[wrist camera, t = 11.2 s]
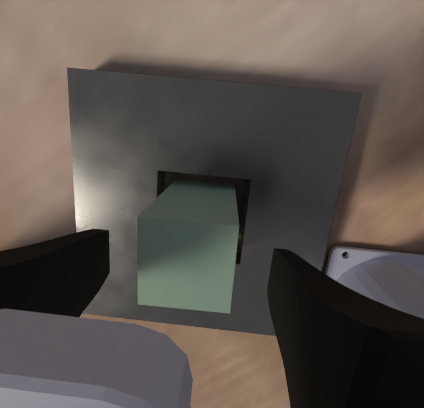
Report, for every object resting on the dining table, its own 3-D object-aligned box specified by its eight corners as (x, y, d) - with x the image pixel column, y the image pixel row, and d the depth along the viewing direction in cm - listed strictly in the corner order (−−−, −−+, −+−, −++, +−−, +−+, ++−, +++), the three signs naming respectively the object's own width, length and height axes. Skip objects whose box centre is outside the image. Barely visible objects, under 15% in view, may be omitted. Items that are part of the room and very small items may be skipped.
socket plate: (345, 97, 16) (361, 93, 14) (298, 319, 21) (305, 339, 19) (85, 74, 17) (67, 67, 15) (94, 296, 21) (80, 313, 19)
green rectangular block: (234, 184, 18) (239, 225, 10) (229, 238, 19) (230, 313, 11) (175, 179, 18) (137, 216, 10) (173, 234, 19) (137, 304, 12)
